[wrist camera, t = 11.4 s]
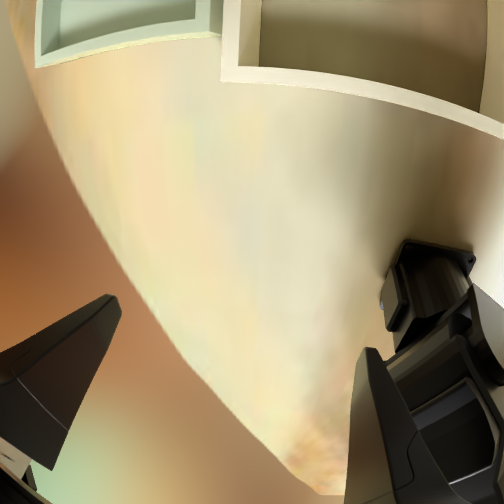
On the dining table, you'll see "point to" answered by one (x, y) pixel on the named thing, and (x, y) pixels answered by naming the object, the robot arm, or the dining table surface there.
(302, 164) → the dining table surface
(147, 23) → the tray
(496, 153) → the dining table surface
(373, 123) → the dining table surface
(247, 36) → the cream square bin
